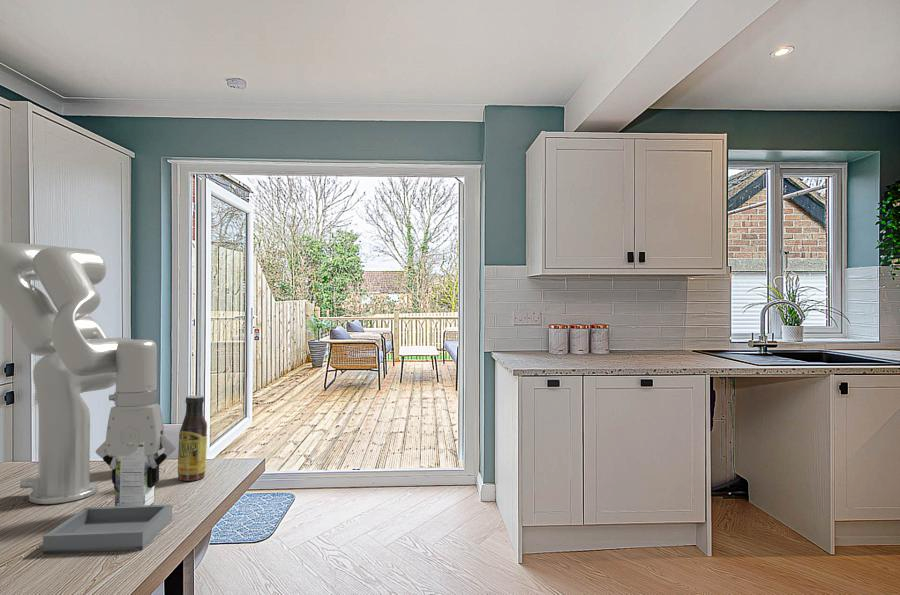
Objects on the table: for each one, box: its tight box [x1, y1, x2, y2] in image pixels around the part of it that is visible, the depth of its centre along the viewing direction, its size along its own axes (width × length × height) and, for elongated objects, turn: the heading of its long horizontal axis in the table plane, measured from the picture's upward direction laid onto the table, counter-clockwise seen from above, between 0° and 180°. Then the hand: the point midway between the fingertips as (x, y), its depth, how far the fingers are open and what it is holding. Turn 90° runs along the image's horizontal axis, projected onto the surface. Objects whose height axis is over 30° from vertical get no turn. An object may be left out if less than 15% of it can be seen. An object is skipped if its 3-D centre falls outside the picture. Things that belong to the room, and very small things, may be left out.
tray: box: [42, 504, 173, 555], centre depth 107 cm, size 16×14×3 cm
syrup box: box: [114, 441, 156, 507], centre depth 121 cm, size 6×6×14 cm
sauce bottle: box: [177, 394, 208, 482], centre depth 142 cm, size 6×6×20 cm
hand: (135, 485), depth 121 cm, fingers closed on syrup box, 5 cm apart
